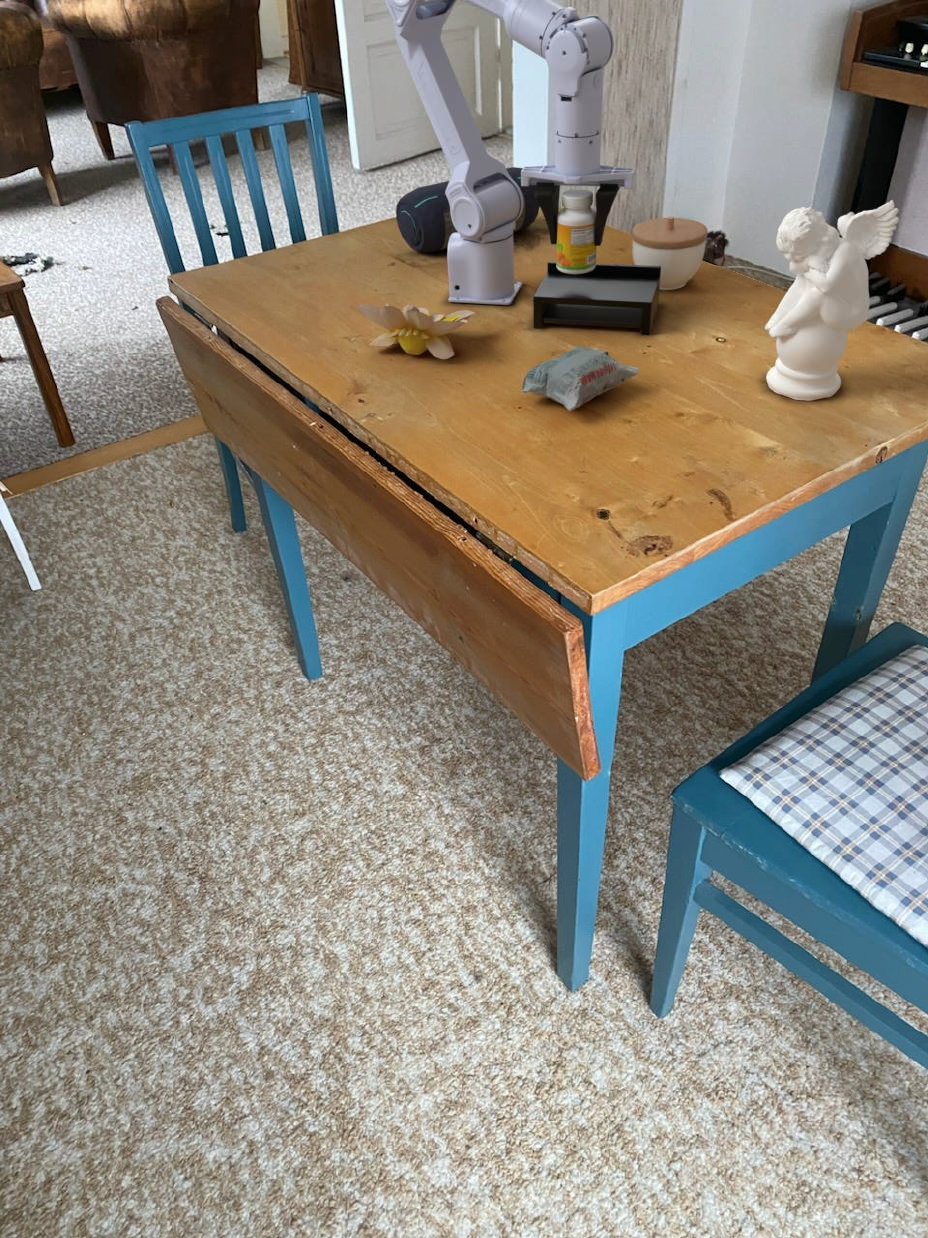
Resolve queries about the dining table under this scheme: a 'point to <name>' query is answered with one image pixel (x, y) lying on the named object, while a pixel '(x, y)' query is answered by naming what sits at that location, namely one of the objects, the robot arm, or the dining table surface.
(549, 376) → the packaged food
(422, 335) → the decorative flower
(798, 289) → the cherub figurine
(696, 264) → the trinket box
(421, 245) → the portable speaker
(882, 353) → the dining table surface
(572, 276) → the black lipped tray
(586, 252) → the supplement bottle
